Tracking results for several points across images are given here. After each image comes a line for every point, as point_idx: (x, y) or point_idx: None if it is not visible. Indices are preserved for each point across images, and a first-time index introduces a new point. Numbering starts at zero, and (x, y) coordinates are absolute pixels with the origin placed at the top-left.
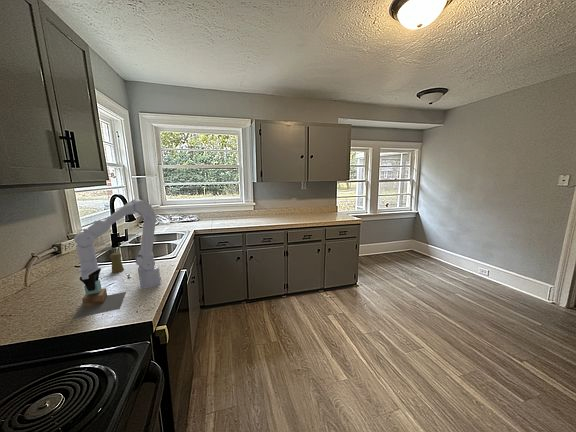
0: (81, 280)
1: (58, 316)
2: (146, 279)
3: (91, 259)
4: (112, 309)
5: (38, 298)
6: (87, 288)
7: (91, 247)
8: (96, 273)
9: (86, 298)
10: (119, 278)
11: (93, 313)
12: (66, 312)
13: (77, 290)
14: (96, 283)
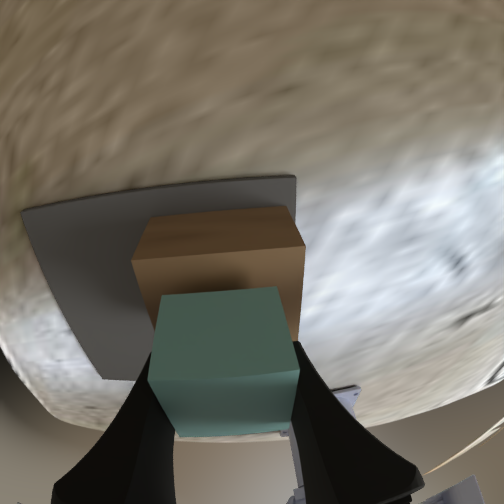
0: (63, 483)
1: (80, 84)
2: (292, 451)
3: None
4: (98, 360)
5: None
6: (137, 379)
7: None
8: (307, 497)
9: (140, 286)
10: (489, 280)
11: (65, 300)
12: (122, 110)
13: (489, 88)
14: (201, 433)
